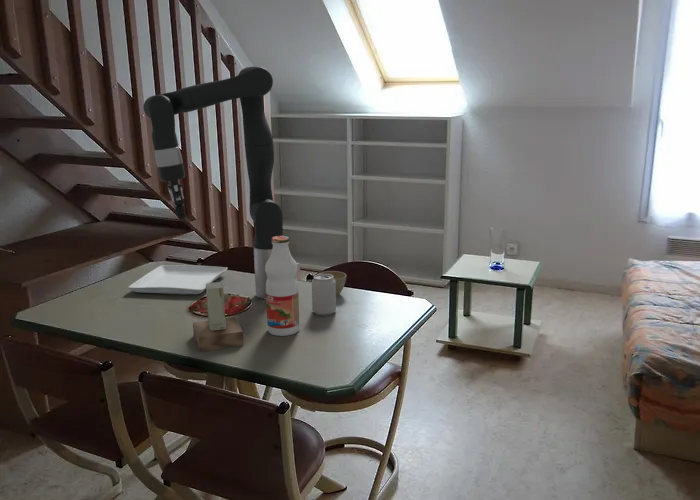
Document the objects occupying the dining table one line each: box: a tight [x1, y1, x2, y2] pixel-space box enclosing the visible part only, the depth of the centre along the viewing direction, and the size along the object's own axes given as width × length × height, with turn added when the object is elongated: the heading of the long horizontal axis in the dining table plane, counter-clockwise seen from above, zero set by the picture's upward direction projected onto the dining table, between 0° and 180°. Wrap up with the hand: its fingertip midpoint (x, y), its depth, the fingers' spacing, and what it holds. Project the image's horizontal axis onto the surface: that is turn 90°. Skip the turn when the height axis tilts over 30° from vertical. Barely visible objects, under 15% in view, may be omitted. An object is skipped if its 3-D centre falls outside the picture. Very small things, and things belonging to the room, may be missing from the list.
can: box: [311, 273, 337, 316], centre depth 192 cm, size 8×8×12 cm
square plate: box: [127, 264, 228, 295], centre depth 222 cm, size 27×27×4 cm
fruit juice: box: [265, 235, 301, 337], centre depth 176 cm, size 9×9×28 cm
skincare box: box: [205, 281, 226, 331], centre depth 170 cm, size 6×4×12 cm
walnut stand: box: [192, 316, 245, 352], centre depth 172 cm, size 12×12×4 cm
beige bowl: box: [316, 270, 347, 298], centre depth 209 cm, size 10×10×7 cm
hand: (180, 216), depth 187 cm, fingers open, 8 cm apart
